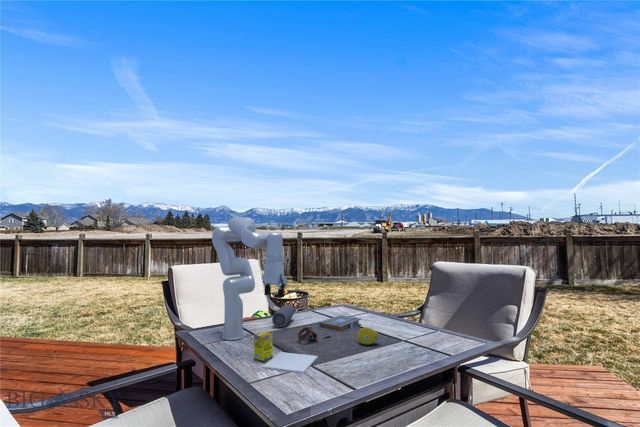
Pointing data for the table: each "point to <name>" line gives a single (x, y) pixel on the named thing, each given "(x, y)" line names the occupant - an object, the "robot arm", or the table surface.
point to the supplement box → (263, 346)
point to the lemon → (367, 336)
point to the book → (339, 323)
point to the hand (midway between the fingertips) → (274, 296)
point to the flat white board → (290, 362)
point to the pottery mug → (307, 334)
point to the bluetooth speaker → (283, 316)
